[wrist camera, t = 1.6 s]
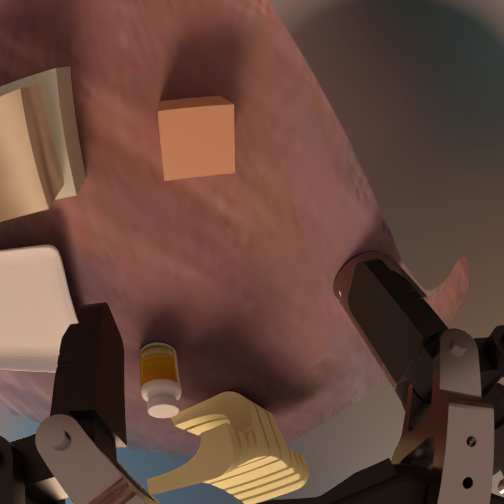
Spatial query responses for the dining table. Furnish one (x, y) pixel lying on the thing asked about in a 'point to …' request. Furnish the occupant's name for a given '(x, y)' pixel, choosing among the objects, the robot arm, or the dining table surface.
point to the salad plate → (33, 308)
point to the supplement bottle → (160, 379)
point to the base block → (59, 124)
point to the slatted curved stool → (235, 451)
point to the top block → (26, 154)
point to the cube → (196, 137)
